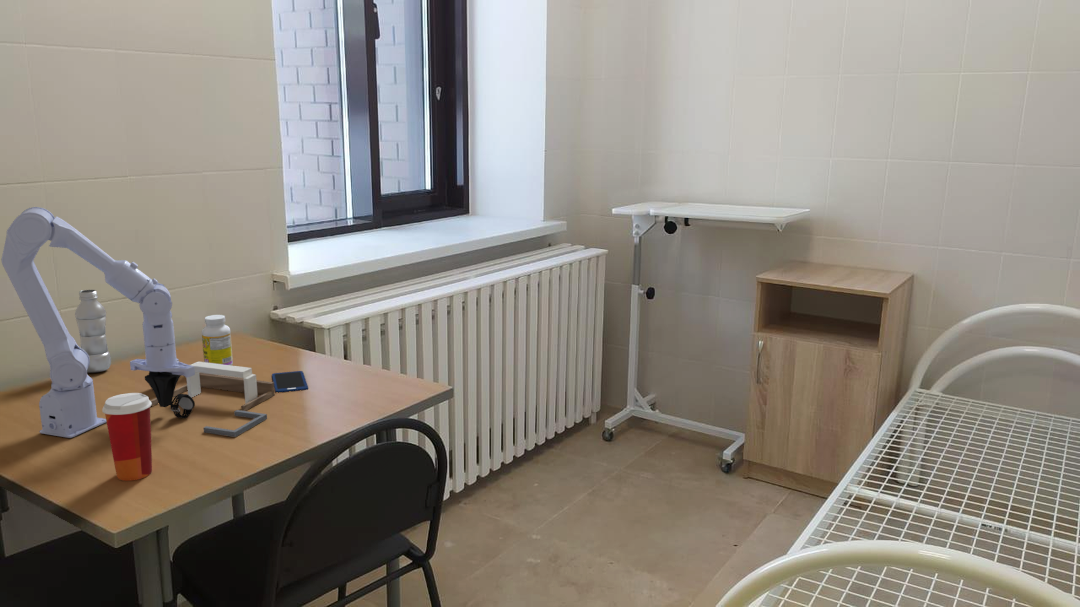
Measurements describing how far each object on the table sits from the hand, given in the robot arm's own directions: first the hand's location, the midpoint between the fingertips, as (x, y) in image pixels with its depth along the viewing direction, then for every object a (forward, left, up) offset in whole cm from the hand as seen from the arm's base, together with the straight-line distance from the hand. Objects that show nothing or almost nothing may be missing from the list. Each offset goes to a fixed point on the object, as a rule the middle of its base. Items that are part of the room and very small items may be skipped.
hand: (165, 405), depth 172 cm
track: (+8, -3, -2) cm, 8 cm away
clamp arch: (+12, -5, -2) cm, 13 cm away
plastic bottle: (+18, +36, -2) cm, 41 cm away
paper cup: (-25, -15, -2) cm, 29 cm away
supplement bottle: (+31, +11, -2) cm, 33 cm away
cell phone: (+27, -12, -3) cm, 30 cm away
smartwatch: (0, -4, -2) cm, 4 cm away
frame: (0, -17, -2) cm, 17 cm away
